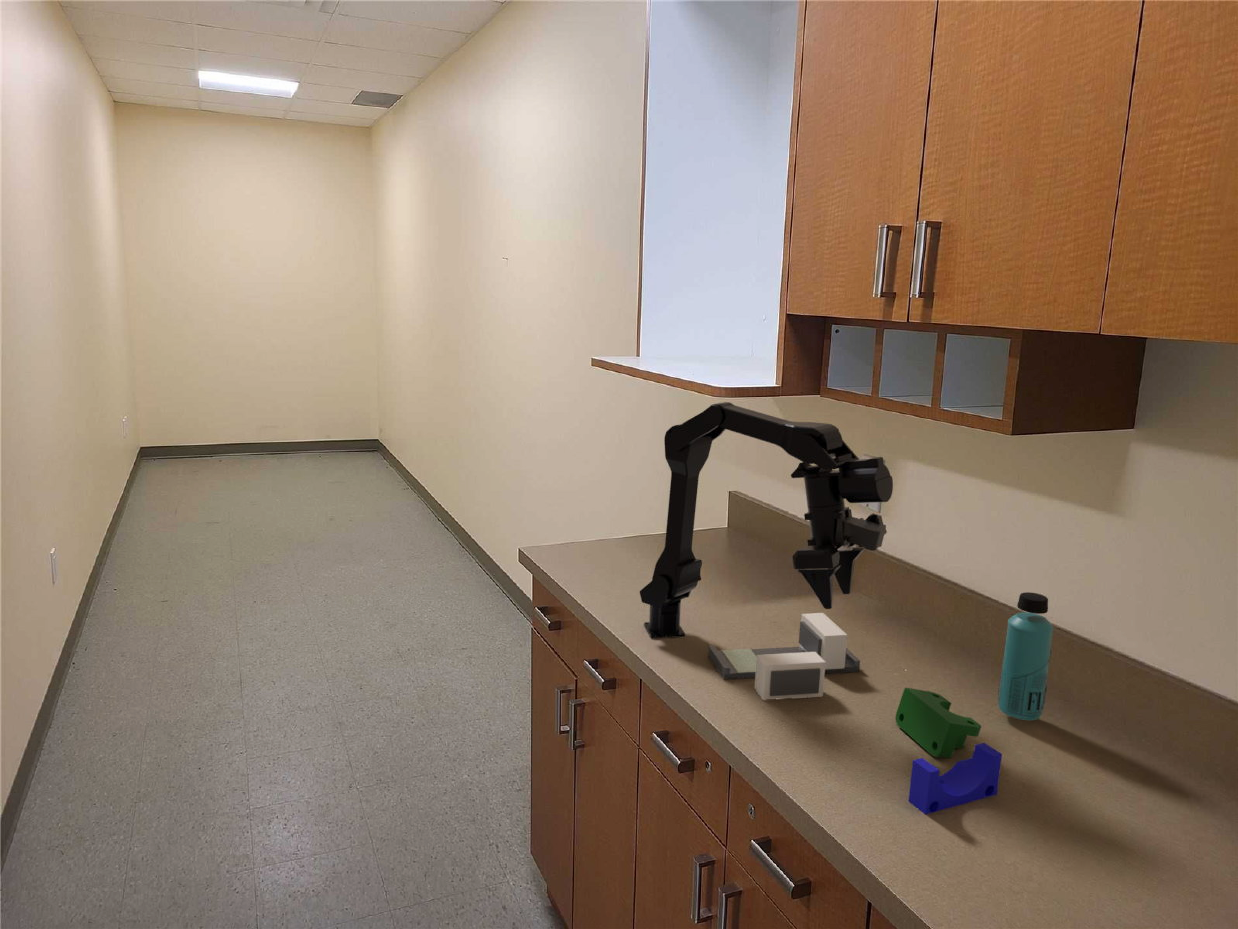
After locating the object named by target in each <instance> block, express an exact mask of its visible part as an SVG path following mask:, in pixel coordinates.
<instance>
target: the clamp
mask: <svg viewBox="0 0 1238 929" xmlns="http://www.w3.org/2000/svg"><path fill="white" fill-rule="evenodd" d="M951 706H952V702H951V701H949V700H948V699H947V698H946V697H944V696H943V695H941V694H939V693H936V692H934V691H929V690H923V689H917V688H910V687H904V688H903V691H902V695H901V697H900V700H899V704H898V707H897V710H896V711H895V712H896V713H895V722H896V725H897V726H898V727H899V728H900V729H901V730H902V731H904V732H905V733H906V734H907V735H908V736H909V737H911V739H913V740H914V741H915V742H916V743H917V744H918V745H920V746H921V747H922V748H923V749H924V750H925V751H927V752H928V753H929V754H930V755H931V756H932V757H935V758H936V757H937V758H943V759H944V758H945V759H949V758H951V757H952V756H953V754H954V752H955V748H957V749H963V748H964V746H965V743H966V740H967V737H974V738H977V737H979V735H980V732H981V729H982V725H981V724H980V723H979V722H977V721H976V720H975V719H974V718H972V717H971V716H970V717H969V716H963V715H961V714H958V713H954V712H952V711H950V709H951Z"/></svg>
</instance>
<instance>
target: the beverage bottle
mask: <svg viewBox="0 0 1238 929" xmlns="http://www.w3.org/2000/svg"><path fill="white" fill-rule="evenodd" d="M1017 609H1019V610H1021V611H1022V612H1018V613H1015V615H1012V616H1011V617H1010V618H1008V619H1007V629H1006V637H1005V646H1004V647H1005V648H1004V653H1003V654H1004V655H1003V658H1002V666H1001V674H1000V676H999V677H1000V678H999V680H1000V681H999V686H998V687H999V688H998V692H997V701H996V703H997V705H998V709H999V710H1000V711H1001V713H1003V714H1005V715H1007V716H1009V717H1011V718H1014V719H1018V720H1022V721H1023V720H1024V721H1036V720H1038V719H1040V718H1041V717H1042V715H1043V712H1044V709H1045V708H1044V707H1045V706H1044V705H1045V703H1046V695H1047V683H1048V672H1049V666H1050V664H1051V662H1050V659H1051V655H1052V639H1053V632H1054V625H1052V623H1051V622H1050V621H1049V620H1048V619H1047V618H1046V617H1045V616H1043V615H1041V614H1047V613H1048V610H1049V598H1048V597H1047V596H1046V595H1043V594H1041V593H1036V592H1032V591H1031V592H1029V591H1028V592H1027V591H1026V592H1021V593H1020V594H1019V597H1018V601H1017Z"/></svg>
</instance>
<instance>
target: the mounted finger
mask: <svg viewBox="0 0 1238 929" xmlns="http://www.w3.org/2000/svg"><path fill="white" fill-rule="evenodd" d="M798 634H799V636H798V645H799V646H798V647H801V648H802V649H803V650H804V651H805V652H816V653H817V654H818V655H819V656H820V657H821V658H822V659H823V660H824V661H825V662H826V663H825V669H841V668H844V667H845V656H846V648H847V642H848V634H847V633H846V632H845V631H844V630H843V629H841V627H839V626H838V625H837V624H836V623H835V622H834V621H832V619H831V618H829V617H828V615H826V614H825V613H824V612H814V613H813V612H812V613H801V619H800V623H799V633H798Z"/></svg>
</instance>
